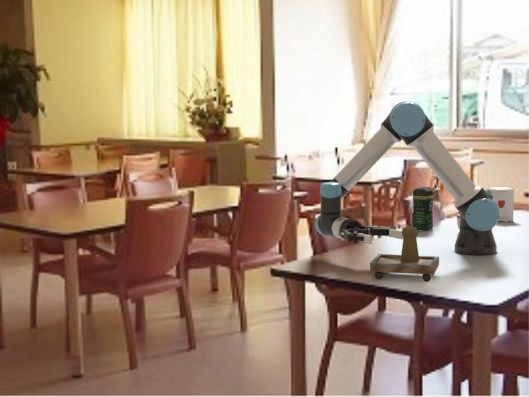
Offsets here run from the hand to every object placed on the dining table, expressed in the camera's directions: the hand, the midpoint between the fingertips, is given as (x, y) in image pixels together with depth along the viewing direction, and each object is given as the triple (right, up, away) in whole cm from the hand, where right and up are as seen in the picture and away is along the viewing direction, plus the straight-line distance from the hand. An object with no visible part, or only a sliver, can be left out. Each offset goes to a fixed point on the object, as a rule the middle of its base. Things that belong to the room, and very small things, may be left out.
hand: (387, 237), depth 271 cm
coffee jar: (+28, -1, +84) cm, 89 cm away
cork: (+7, -7, -4) cm, 11 cm away
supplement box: (+67, +3, +104) cm, 124 cm away
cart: (+5, -13, -6) cm, 15 cm away
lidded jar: (+46, -2, +73) cm, 86 cm away
